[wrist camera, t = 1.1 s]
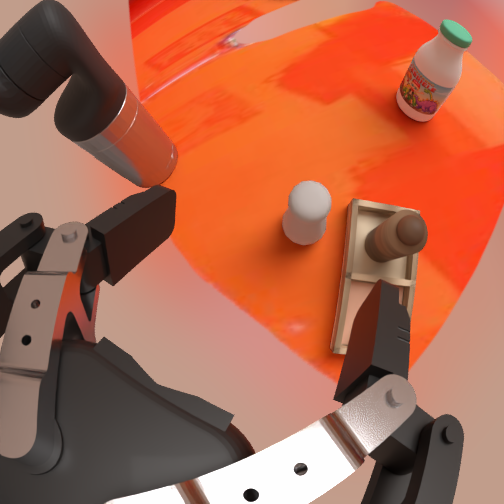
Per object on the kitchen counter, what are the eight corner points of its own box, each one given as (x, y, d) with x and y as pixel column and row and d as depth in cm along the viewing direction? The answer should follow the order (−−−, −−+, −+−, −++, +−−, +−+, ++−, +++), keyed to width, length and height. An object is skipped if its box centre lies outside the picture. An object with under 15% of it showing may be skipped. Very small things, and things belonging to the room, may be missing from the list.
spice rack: (329, 348, 37) (333, 353, 34) (348, 205, 39) (352, 198, 36) (395, 353, 36) (403, 358, 33) (411, 216, 38) (419, 210, 35)
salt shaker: (285, 250, 39) (284, 232, 27) (279, 209, 40) (275, 174, 27) (327, 244, 39) (345, 224, 26) (320, 204, 40) (334, 167, 27)
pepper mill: (362, 260, 37) (394, 248, 25) (366, 225, 37) (396, 199, 25) (394, 264, 36) (435, 254, 24) (397, 230, 37) (436, 208, 25)
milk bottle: (407, 82, 40) (443, 7, 20) (439, 109, 39) (488, 41, 19) (387, 100, 40) (423, 18, 20) (421, 130, 39) (474, 57, 19)
